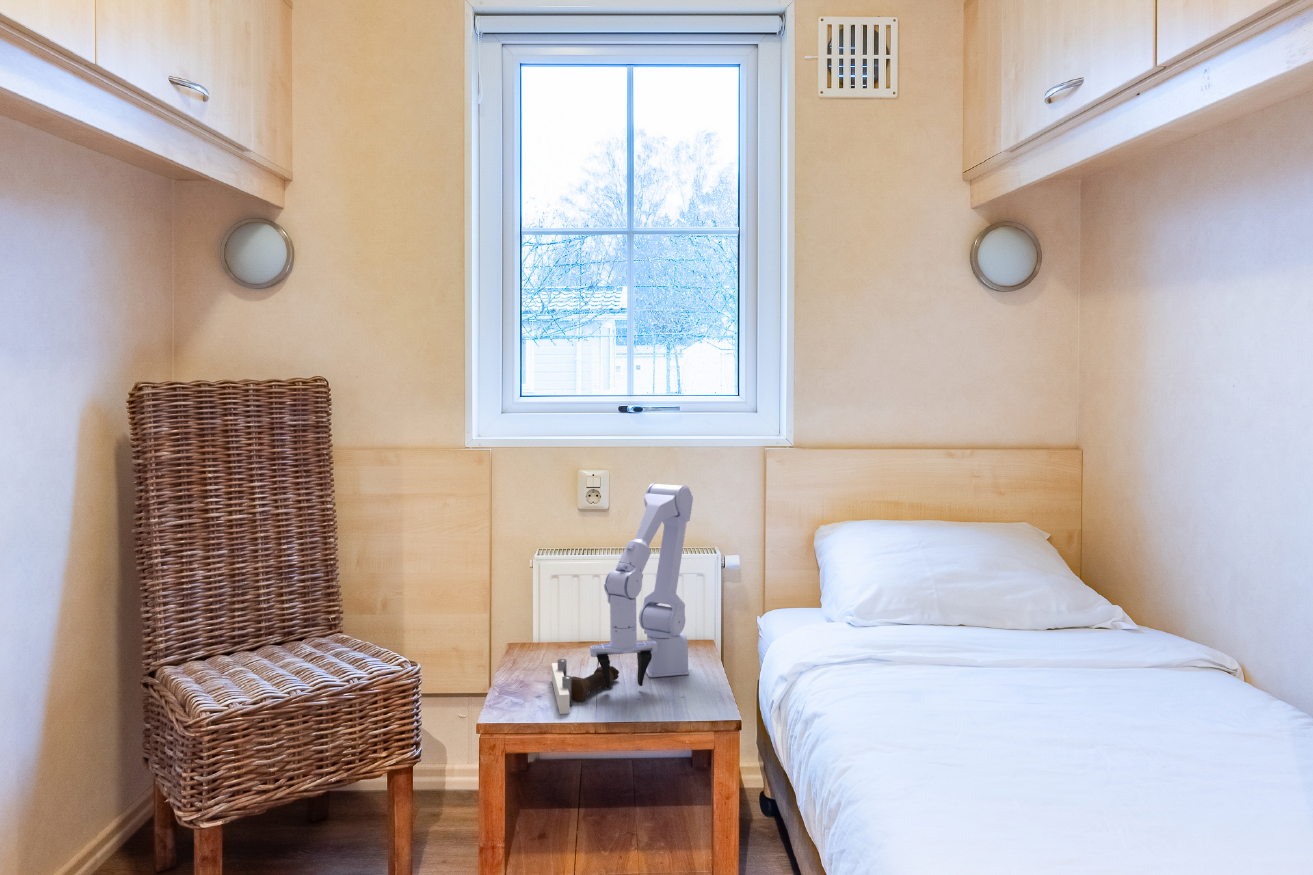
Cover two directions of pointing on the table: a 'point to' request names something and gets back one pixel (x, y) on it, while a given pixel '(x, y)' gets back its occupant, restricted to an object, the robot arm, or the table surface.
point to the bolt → (591, 683)
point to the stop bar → (562, 686)
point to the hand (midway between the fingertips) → (624, 685)
